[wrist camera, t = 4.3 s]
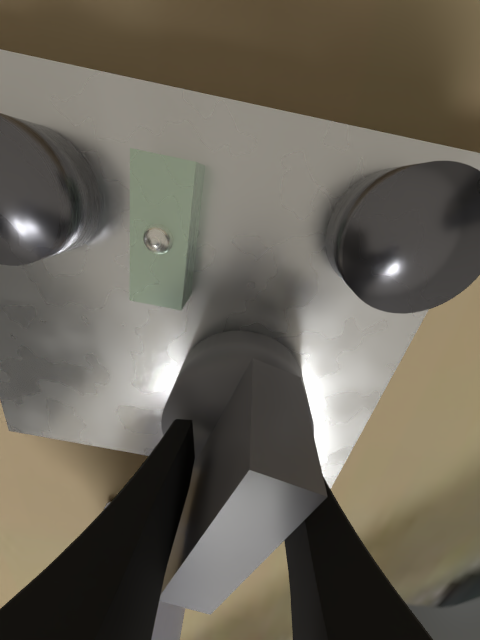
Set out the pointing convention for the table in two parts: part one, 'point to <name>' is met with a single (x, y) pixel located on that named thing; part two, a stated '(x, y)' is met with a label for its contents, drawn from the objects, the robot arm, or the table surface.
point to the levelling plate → (209, 249)
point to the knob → (239, 463)
